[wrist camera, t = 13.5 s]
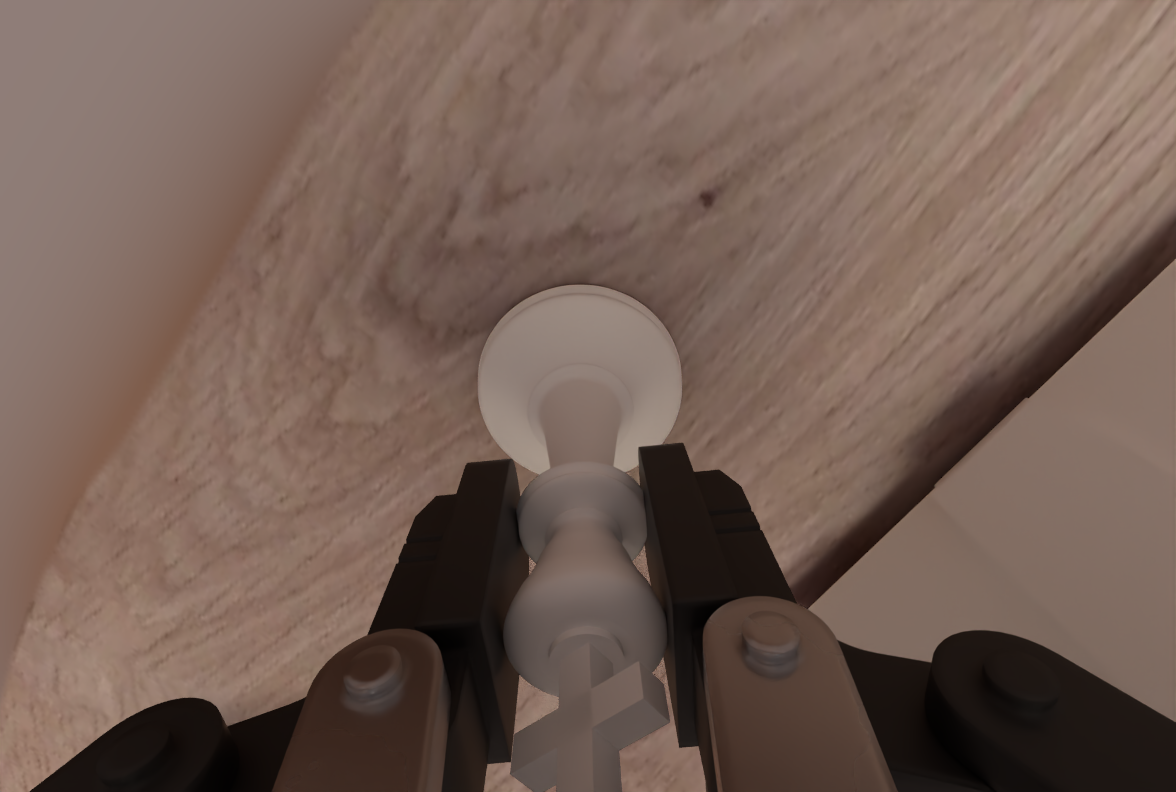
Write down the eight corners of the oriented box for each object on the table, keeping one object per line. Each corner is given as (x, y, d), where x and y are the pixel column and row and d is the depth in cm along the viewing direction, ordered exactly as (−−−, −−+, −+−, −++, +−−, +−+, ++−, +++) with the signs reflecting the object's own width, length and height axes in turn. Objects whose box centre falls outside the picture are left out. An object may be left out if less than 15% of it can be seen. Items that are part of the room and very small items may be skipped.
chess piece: (720, 396, 15) (960, 833, 6) (566, 503, 16) (555, 1009, 7) (596, 238, 13) (648, 485, 4) (435, 370, 14) (186, 795, 5)
